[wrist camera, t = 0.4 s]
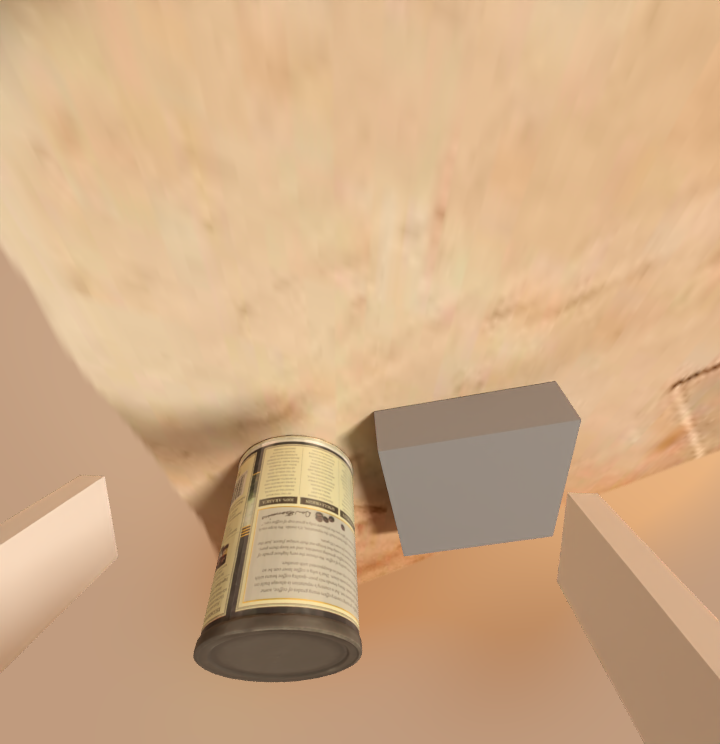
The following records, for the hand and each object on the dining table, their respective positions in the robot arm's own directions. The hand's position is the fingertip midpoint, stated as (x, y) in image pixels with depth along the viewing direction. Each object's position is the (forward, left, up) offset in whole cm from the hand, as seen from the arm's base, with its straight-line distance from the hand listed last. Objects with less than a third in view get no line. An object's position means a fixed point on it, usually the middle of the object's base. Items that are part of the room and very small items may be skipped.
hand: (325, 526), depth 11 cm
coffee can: (+18, -7, -16) cm, 25 cm away
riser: (+20, +8, -16) cm, 27 cm away
